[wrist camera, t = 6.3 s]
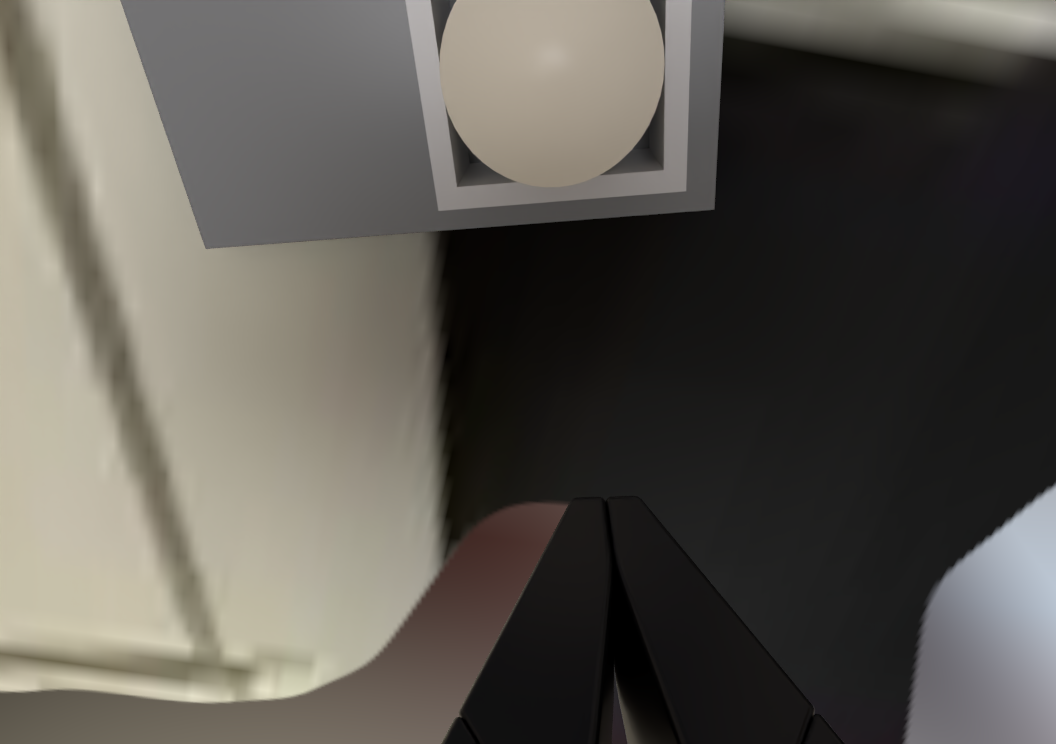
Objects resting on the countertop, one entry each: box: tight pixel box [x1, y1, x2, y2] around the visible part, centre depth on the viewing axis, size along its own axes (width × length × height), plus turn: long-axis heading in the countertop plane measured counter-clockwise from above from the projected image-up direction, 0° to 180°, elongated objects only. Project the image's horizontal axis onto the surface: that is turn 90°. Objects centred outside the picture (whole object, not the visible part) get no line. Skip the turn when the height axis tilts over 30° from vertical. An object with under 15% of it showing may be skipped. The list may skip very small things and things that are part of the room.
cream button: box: [439, 0, 665, 187], centre depth 13 cm, size 4×4×3 cm
